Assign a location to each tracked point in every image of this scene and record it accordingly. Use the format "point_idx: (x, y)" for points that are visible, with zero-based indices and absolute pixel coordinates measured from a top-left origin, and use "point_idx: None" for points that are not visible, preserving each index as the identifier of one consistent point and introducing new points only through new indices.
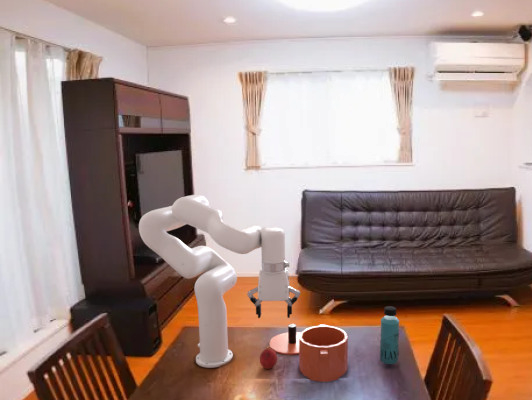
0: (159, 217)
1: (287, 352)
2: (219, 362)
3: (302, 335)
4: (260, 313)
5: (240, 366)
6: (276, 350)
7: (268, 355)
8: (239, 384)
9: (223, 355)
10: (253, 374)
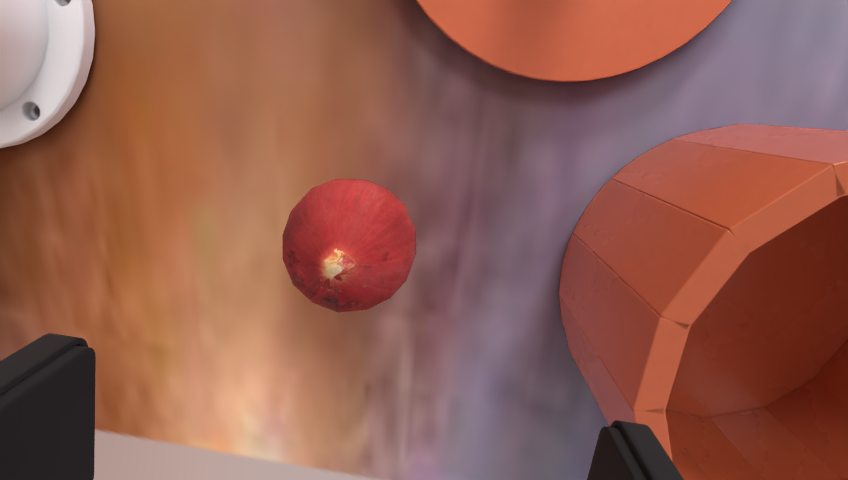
0: None
1: (511, 61)
2: (7, 122)
3: (684, 322)
4: (54, 474)
5: (171, 156)
6: (427, 8)
7: (341, 306)
8: (189, 360)
9: (3, 85)
10: (264, 270)
